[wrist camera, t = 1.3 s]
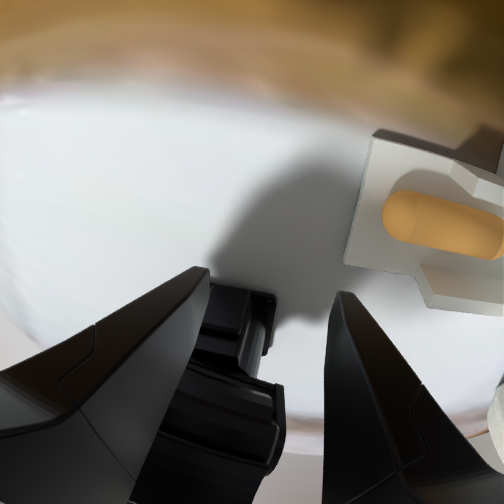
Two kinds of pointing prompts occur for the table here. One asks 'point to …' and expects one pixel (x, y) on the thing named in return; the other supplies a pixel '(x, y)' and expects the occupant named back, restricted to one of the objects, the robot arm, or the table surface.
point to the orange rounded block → (443, 225)
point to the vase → (497, 420)
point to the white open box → (421, 257)
